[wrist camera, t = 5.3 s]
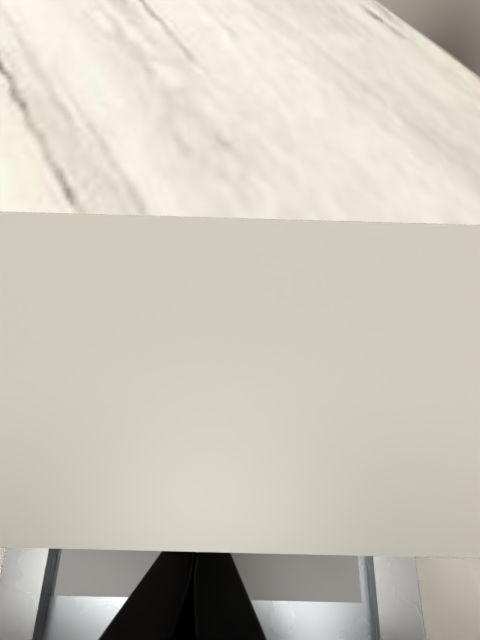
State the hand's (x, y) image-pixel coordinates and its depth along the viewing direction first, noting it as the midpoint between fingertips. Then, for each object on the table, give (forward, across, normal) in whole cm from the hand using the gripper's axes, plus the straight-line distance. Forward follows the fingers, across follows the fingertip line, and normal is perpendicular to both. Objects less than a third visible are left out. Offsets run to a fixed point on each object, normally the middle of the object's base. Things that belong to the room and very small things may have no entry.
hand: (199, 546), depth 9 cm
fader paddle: (+5, 0, +3) cm, 6 cm away
